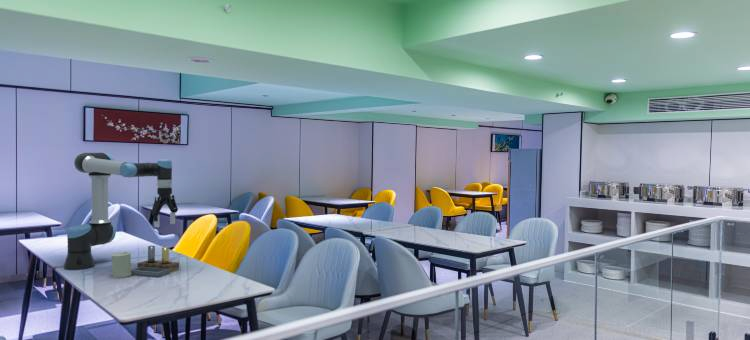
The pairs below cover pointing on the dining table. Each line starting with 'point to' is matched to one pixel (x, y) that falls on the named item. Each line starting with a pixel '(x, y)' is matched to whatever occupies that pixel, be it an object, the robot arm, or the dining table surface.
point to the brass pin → (165, 255)
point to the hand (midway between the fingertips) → (164, 225)
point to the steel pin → (151, 254)
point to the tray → (149, 271)
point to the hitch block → (160, 265)
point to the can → (121, 264)
